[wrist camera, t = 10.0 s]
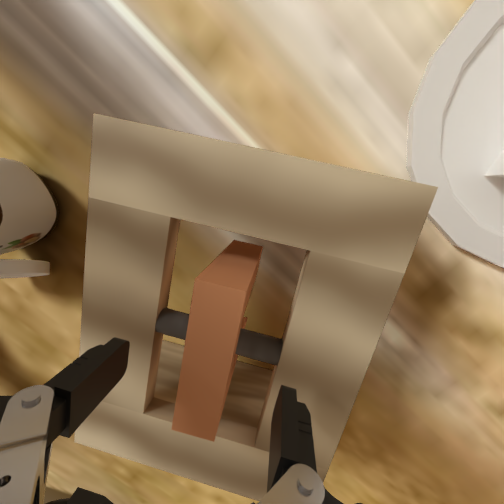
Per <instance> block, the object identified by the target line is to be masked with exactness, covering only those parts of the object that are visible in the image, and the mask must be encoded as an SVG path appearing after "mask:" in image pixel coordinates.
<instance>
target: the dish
mask: <svg viewBox="0 0 504 504" xmlns="http://www.w3.org/2000/svg"><path fill="white" fill-rule="evenodd" d="M406 168H407V171H408V174H409V177H410V180H411V181H412V182H417V183H421V184H426V185H431V186H435V187H438V189H437V192H436V194H435V197H434V199H433V202H432V205H431V207H430V210H429V212H428V215H427V218H428V219H429V220H430V221H431V222H432V223H433V224H434V225H435V226H436V228H437V229H438V230H439V231H440V232H441V233H442V234H443V235H444V236H445V237H446V239H447V240H448V241H449V242H450V243H451V244H452V245H454V246H456V247H458V248H460V249H463V250H465V251H467V252H469V253H471V254H473V255H475V256H477V257H479V258H481V259H483V260H486V261H488V262H490V263H492V264H494V265H497V266H500V267H503V268H504V0H475V1H474V2H473V3H472V4H471V5H470V6H469V7H468V9H467V10H466V11H465V13H464V14H463V15H462V17H461V18H460V19H459V21H458V22H457V23H456V24H455V26H454V27H453V28H452V30H451V31H450V32H449V34H448V35H447V36H446V37H445V39H444V40H443V41H442V43H441V44H440V45H439V47H438V48H437V49H436V51H435V52H434V53H433V54H432V56H431V57H430V59H429V61H428V64H427V66H426V69H425V72H424V74H423V77H422V79H421V82H420V85H419V87H418V90H417V93H416V95H415V98H414V100H413V103H412V106H411V108H410V111H409V113H408V130H407V155H406Z"/></svg>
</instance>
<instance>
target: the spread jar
mask: <svg viewBox="0 0 504 504" xmlns="http://www.w3.org/2000/svg"><path fill="white" fill-rule="evenodd" d="M58 219H59V209H58V205H57V202H56V199H55V197H54V195H53V193H52V191H51V190H50V188H49V187H48V185H47V184H46V183H45V182H44V181H43V180H42V179H41V178H40V176H39V175H38V174H36V173H35V172H34V171H33V170H32V169H30V168H29V167H28V166H26V165H25V164H23V163H20V162H18V161H14V160H10V159H5V158H0V255H1V254H4V253H8V252H12V251H15V250H18V249H21V248H24V247H26V246H29V245H31V244H33V243H35V242H38V241H40V240H41V239H43V238H45V237H46V236H48V235H49V234H50V233H51V232H52V231H53V230H54V228H55V226H56V225H57V222H58ZM49 274H50V262H47V261H40V260H20V259H2V260H0V278H20V277H35V276H44V275H49Z"/></svg>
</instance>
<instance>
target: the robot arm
mask: <svg viewBox="0 0 504 504" xmlns="http://www.w3.org/2000/svg"><path fill="white" fill-rule="evenodd" d="M129 348H130V342H129V341H127V340H124V339H120V338H116V337H114V338H112V339H111V340H110V341H108V342H107V343H106V344H105V345H101V344H100V345H97V346H95V347H93V348H90V349H89V350H87V351H86V352H85V353H83V354H82V355H81V356H80V357H79V358H77V359H76V360H75V361H73V363H71V364H70V365H68V366H67V367H66V368H64V369H63V370H62V371H61V372H59V373H58V374H57V375H56V376H54V377H53V378H52V379H51V380H49V381H48V382H47V383H45V384H44V385H36V386H31V387H28V388H25V389H23V390H21V391H19V392H18V393H16V394H15V395H14V396H0V504H43V503H44V494H45V487H46V481H47V475H48V469H49V463H50V457H51V450H52V442H53V441H54V440H55V439H56V438H57V437H58V436H59V435H61V436H64V437H68V438H69V437H70V436H71V435H72V434H73V433H74V432H75V431H76V429H77V428H78V427H79V426H80V425H81V424H82V423H83V422H84V420H85V419H86V418H87V417H88V416H89V415H90V414H91V413H92V411H93V410H94V409H95V408H96V407H97V406H98V405H99V404H100V402H101V401H102V400H103V399H104V398H105V397H106V396H107V395H108V393H109V392H110V391H111V390H112V389H113V388H114V387H115V386H116V384H117V383H118V382H119V381H120V380H121V379H122V377H123V376H124V374H125V372H126V369H127V365H128V356H129ZM311 425H312V424H311V415H310V412H309V410H308V408H307V406H306V404H305V403H301V402H298V401H297V391H296V389H294V388H291V387H287V386H284V385H281V387H280V390H279V393H278V397H277V400H276V403H275V407H274V410H273V415H272V421H271V435H270V450H269V466H268V482H267V494H266V495H265V496H264V497H263V498H262V500H261V501H260V502H259V503H257V504H343V503H342V502H340V501H339V500H337V499H336V498H334V497H333V496H332V495H331V494H330V493H329V492H328V491H327V490H326V489H325V488H324V485H323V482H322V480H321V478H320V477H319V475H318V474H317V469H316V460H315V451H314V442H313V436H312V434H313V433H312V427H311ZM46 504H113V503H112V502H111V501H110V500H108V499H107V498H106V497H105V496H103V495H100V494H97V493H94V492H91V491H88V490H85V489H82V488H79V487H78V488H77V489H76V491H75V492H74V493H73V495H72V496H71V498H66V499H59V500H56V501H51V502H48V503H46ZM251 504H255V503H251ZM356 504H362V503H356Z"/></svg>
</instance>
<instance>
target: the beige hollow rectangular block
mask: <svg viewBox="0 0 504 504" xmlns="http://www.w3.org/2000/svg"><path fill="white" fill-rule="evenodd" d="M437 189H438V187H435V186H431V185H426V184H421V183H417V182H412V181H407V180H403V179H398V178H394V177H389V176H384V175H380V174H375V173H370V172H366V171H361V170H356V169H352V168H347V167H342V166H338V165H333V164H328V163H324V162H319V161H314V160H310V159H305V158H301V157H296V156H291V155H287V154H282V153H277V152H273V151H268V150H263V149H259V148H254V147H249V146H245V145H240V144H235V143H231V142H226V141H221V140H217V139H212V138H208V137H203V136H198V135H194V134H189V133H184V132H180V131H175V130H170V129H166V128H161V127H156V126H152V125H147V124H142V123H138V122H133V121H128V120H124V119H119V118H115V117H110V116H105V115H101V114H96V113H93V129H92V146H91V164H90V181H89V198H88V216H87V233H86V250H85V268H84V285H83V302H82V319H81V337H80V354H79V357H80V356H81V355H82V354H83V353H85V352H86V351H87V350H89V349H90V348H93V347H95V346H97V345H100V344H101V345H105V344H106V343H107V342H108V341H110V340H111V339H112V338H114V337H116V338H120V339H124V340H127V341H129V342H130V348H129V356H128V365H127V369H126V372H125V374H124V376H123V377H122V379H121V380H120V381H119V382H118V383H117V384H116V386H115V387H114V388H113V389H112V390H111V391H110V392H109V393H108V395H107V396H106V397H105V398H104V399H103V400H102V401H101V402H100V404H99V405H98V406H97V407H96V408H95V409H94V410H93V411H92V413H91V414H90V415H89V416H88V417H87V418H86V419H85V420H84V422H83V423H82V424H81V425H80V426H79V427H78V428H77V429H76V431H75V441H74V442H76V443H79V444H82V445H85V446H88V447H91V448H95V449H98V450H101V451H104V452H107V453H110V454H113V455H116V456H119V457H123V458H126V459H129V460H132V461H135V462H138V463H141V464H144V465H148V466H151V467H154V468H157V469H160V470H163V471H166V472H169V473H173V474H176V475H179V476H182V477H185V478H188V479H191V480H194V481H198V482H201V483H204V484H207V485H210V486H213V487H216V488H219V489H223V490H226V491H229V492H232V493H235V494H238V495H241V496H244V497H248V498H251V499H254V500H257V501H261V500H262V498H263V497H264V496H265V495H266V494H267V482H268V466H269V450H270V435H271V421H272V415H273V410H274V407H275V403H276V400H277V397H278V393H279V390H280V387H281V385H284V386H287V387H291V388H294V389H296V391H297V401H298V402H301V403H305V404H306V406H307V408H308V410H309V412H310V415H311V424H312V425H311V427H312V433H313V434H312V436H313V442H314V451H315V460H316V469H317V474H318V475H319V477H320V478H321V480H322V482H324V479H325V477H326V474H327V471H328V469H329V466H330V464H331V461H332V459H333V456H334V453H335V451H336V448H337V446H338V443H339V441H340V438H341V435H342V433H343V430H344V428H345V425H346V423H347V420H348V418H349V415H350V412H351V410H352V407H353V405H354V402H355V400H356V397H357V394H358V392H359V389H360V387H361V384H362V382H363V379H364V376H365V374H366V371H367V369H368V366H369V364H370V361H371V359H372V356H373V353H374V351H375V348H376V346H377V343H378V341H379V338H380V335H381V333H382V330H383V328H384V325H385V323H386V320H387V317H388V315H389V312H390V310H391V307H392V305H393V302H394V300H395V297H396V294H397V292H398V289H399V287H400V284H401V282H402V279H403V276H404V274H405V271H406V269H407V266H408V264H409V261H410V258H411V256H412V253H413V251H414V248H415V246H416V243H417V241H418V238H419V235H420V233H421V230H422V228H423V225H424V223H425V220H426V217H427V215H428V212H429V210H430V207H431V205H432V202H433V199H434V197H435V194H436V192H437ZM180 219H181V220H185V221H189V222H193V223H198V224H202V225H206V226H210V227H214V228H218V229H222V230H226V231H231V232H235V233H239V234H243V235H247V236H251V237H255V238H260V239H264V240H268V241H272V242H276V243H280V244H284V245H288V246H293V247H297V248H301V249H305V250H307V252H306V255H305V259H304V263H303V266H302V270H301V273H300V277H299V280H298V284H297V287H296V291H295V294H294V298H293V302H292V305H291V309H290V312H289V316H288V319H287V323H286V326H285V330H284V334H283V337H282V339H279V338H275V337H272V336H268V335H264V334H261V333H257V332H253V331H249V330H246V329H242V328H241V329H240V334H239V338H238V343H237V348H236V352H235V354H237V355H241V356H244V357H248V358H252V359H255V360H259V361H262V362H266V363H270V364H273V365H274V369H273V371H272V370H268V369H265V368H261V367H257V366H254V365H250V364H247V363H243V362H240V361H236V364H235V368H234V372H233V375H232V379H231V383H230V386H229V390H228V393H227V397H226V401H225V404H224V408H223V411H222V415H221V419H220V422H219V426H218V429H217V433H216V437H215V440H214V442H213V441H209V440H206V439H202V438H199V437H195V436H192V435H188V434H185V433H181V432H178V431H174V430H171V429H172V422H173V416H174V410H175V403H176V397H177V390H178V384H179V378H180V371H181V365H182V359H183V352H184V346H182V345H179V344H175V343H172V342H168V341H165V340H162V339H163V334H165V335H169V336H173V337H176V338H180V339H183V340H186V333H187V327H188V321H189V314H187V313H183V312H179V311H175V310H172V309H168V308H167V306H168V299H169V292H170V286H171V279H172V272H173V266H174V259H175V252H176V245H177V239H178V232H179V225H180Z"/></svg>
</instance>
